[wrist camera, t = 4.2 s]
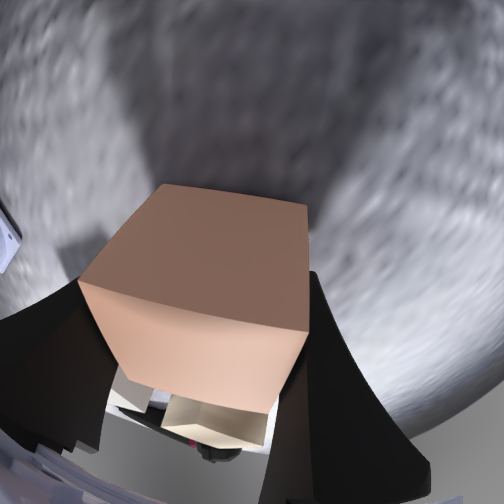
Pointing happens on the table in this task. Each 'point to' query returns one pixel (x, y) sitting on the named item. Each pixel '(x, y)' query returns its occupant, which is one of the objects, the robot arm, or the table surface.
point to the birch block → (214, 423)
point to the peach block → (205, 295)
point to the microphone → (154, 421)
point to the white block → (129, 393)
